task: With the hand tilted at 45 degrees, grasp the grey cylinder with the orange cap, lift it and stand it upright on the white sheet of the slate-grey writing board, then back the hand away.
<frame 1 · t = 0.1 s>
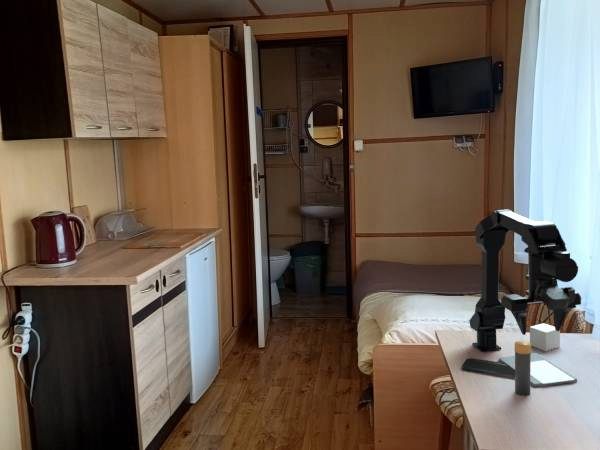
hand: (540, 332, 134), 15 cm above the table, tool pointing down, fingers open, 9 cm apart
grey cylinder: (522, 392, 134), on the table
phone: (491, 371, 149), on the table
white cube: (544, 346, 163), on the table
writing board: (535, 370, 146), on the table
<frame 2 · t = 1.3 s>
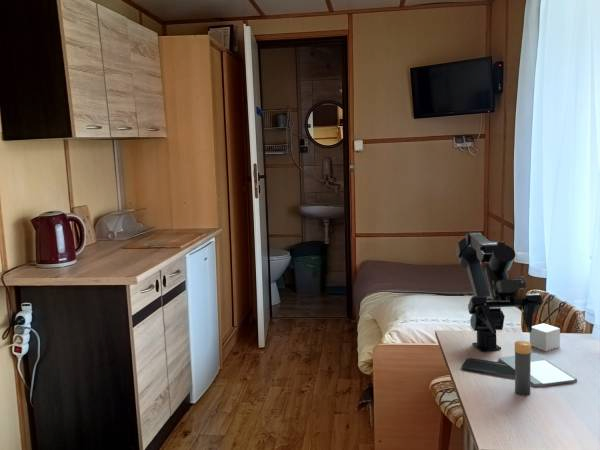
hand: (512, 332, 139), 13 cm above the table, tool tilted 45°, fingers open, 9 cm apart
nothing on the table moved.
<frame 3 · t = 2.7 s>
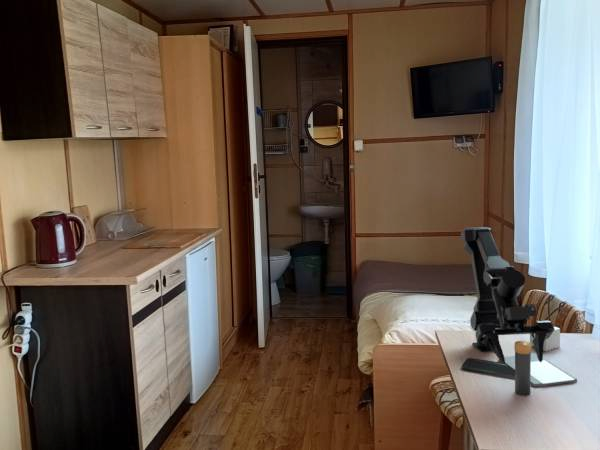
hand: (522, 362, 133), 8 cm above the table, tool tilted 45°, fingers open, 9 cm apart
nothing on the table moved.
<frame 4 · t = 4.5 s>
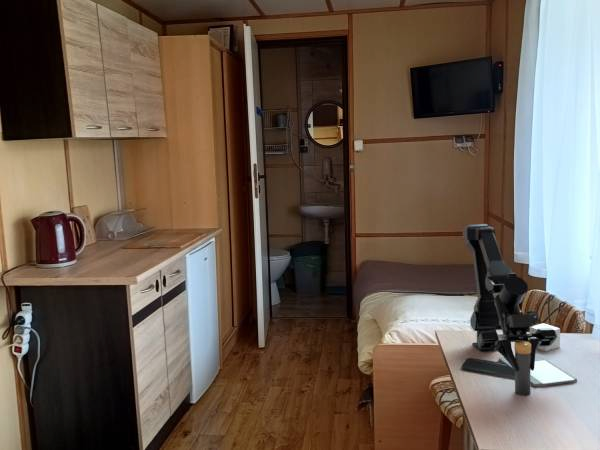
hand: (524, 370, 132), 7 cm above the table, tool tilted 45°, fingers closed on grey cylinder, 4 cm apart
grey cylinder: (522, 392, 134), on the table, touching gripper
everything else where it was.
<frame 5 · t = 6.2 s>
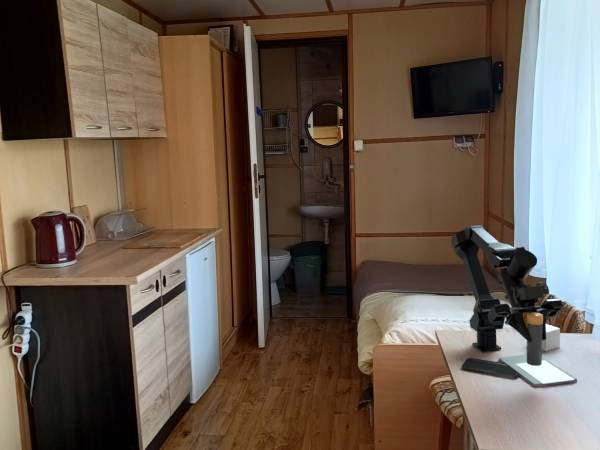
hand: (537, 340, 135), 13 cm above the table, tool tilted 45°, fingers closed on grey cylinder, 4 cm apart
grey cylinder: (534, 362, 137), point 6 cm above the table, touching gripper
everything else where it was.
when the fingers open (9 cm above the table, at t = 8.3 s): grey cylinder drops 1 cm, resting on writing board.
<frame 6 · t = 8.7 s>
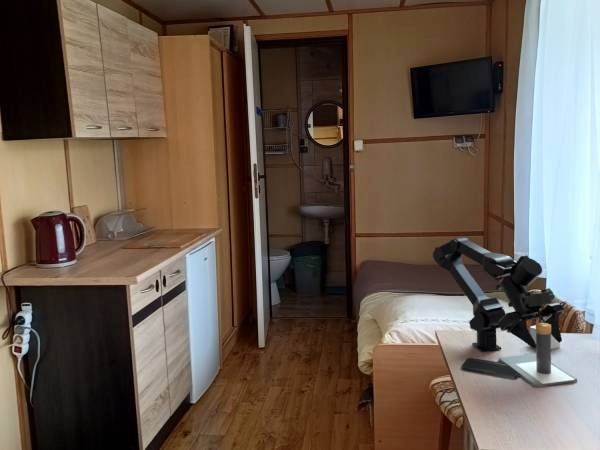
hand: (548, 344, 141), 9 cm above the table, tool tilted 45°, fingers open, 8 cm apart
grey cylinder: (543, 371, 143), point 1 cm above the table, touching writing board
everything else where it was.
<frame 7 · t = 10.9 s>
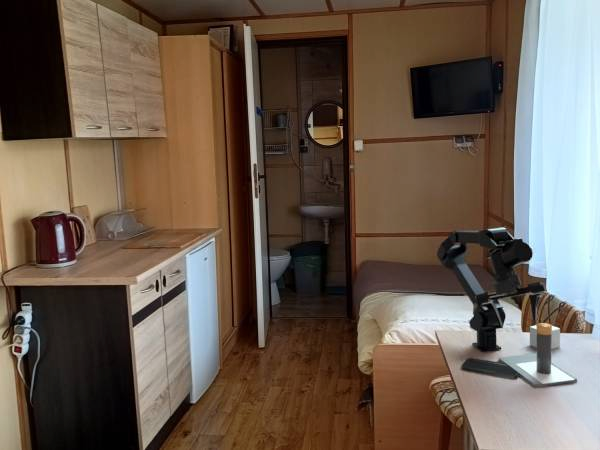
hand: (518, 324, 148), 12 cm above the table, tool tilted 25°, fingers open, 9 cm apart
nothing on the table moved.
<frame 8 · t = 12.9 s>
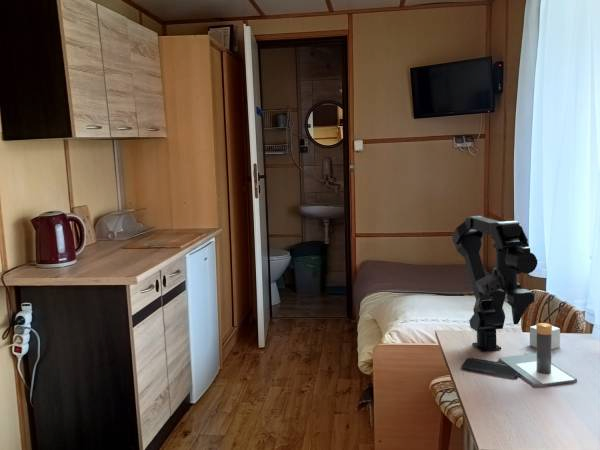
hand: (506, 319, 150), 13 cm above the table, tool pointing down, fingers open, 9 cm apart
nothing on the table moved.
at the end: grey cylinder inside the target area on the writing board (0.0 cm from its centre), point 0.9 cm above the writing board's base; grey cylinder tilted 0°; the gripper is holding nothing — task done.
